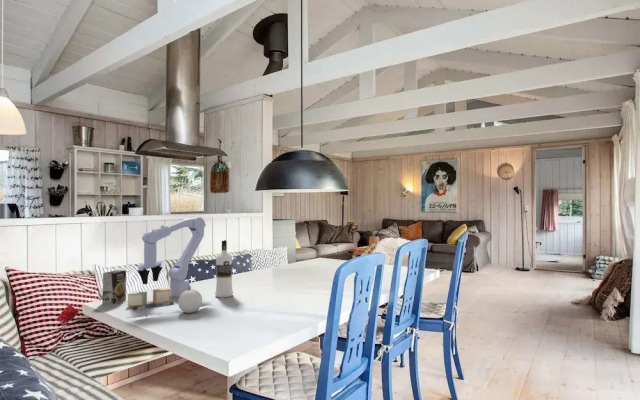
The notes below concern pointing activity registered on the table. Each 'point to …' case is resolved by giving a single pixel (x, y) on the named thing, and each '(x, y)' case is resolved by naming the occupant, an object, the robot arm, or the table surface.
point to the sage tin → (137, 298)
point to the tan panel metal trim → (152, 305)
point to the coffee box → (114, 287)
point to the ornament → (190, 300)
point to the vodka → (224, 273)
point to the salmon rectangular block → (161, 295)
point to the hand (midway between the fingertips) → (150, 282)
